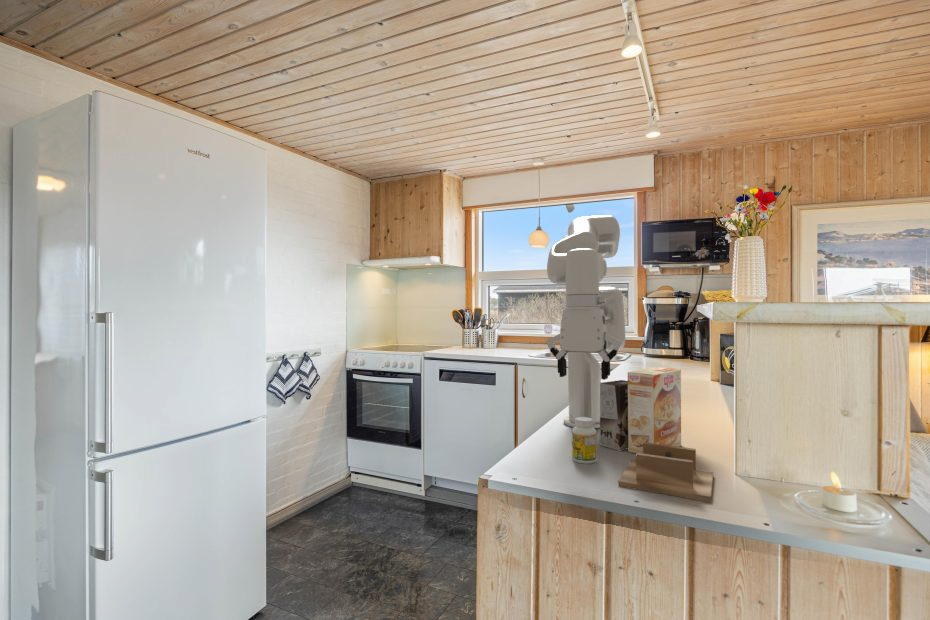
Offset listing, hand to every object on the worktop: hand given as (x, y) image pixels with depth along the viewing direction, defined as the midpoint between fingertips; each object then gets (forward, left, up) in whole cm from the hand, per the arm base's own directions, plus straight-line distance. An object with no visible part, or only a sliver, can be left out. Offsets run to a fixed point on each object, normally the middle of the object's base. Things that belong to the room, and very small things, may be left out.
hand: (583, 377), depth 105 cm
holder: (+5, +18, -19) cm, 27 cm away
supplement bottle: (0, 0, -19) cm, 19 cm away
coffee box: (-16, +5, -19) cm, 26 cm away
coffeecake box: (-17, +13, -19) cm, 29 cm away
